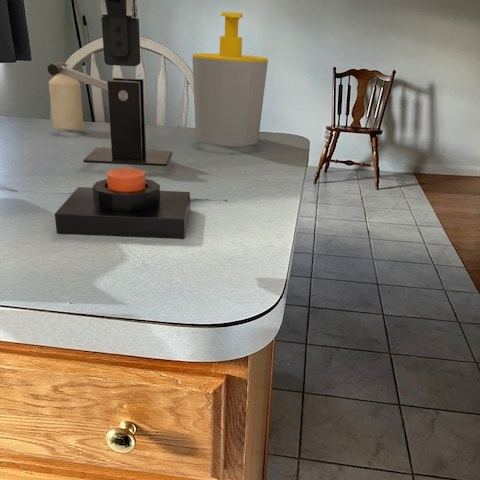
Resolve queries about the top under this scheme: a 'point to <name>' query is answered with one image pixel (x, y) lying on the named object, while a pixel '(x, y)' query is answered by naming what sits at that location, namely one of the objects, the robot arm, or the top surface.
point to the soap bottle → (228, 91)
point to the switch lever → (76, 75)
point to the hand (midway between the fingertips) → (122, 64)
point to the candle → (66, 103)
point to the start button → (126, 179)
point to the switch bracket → (127, 127)
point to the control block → (124, 212)
